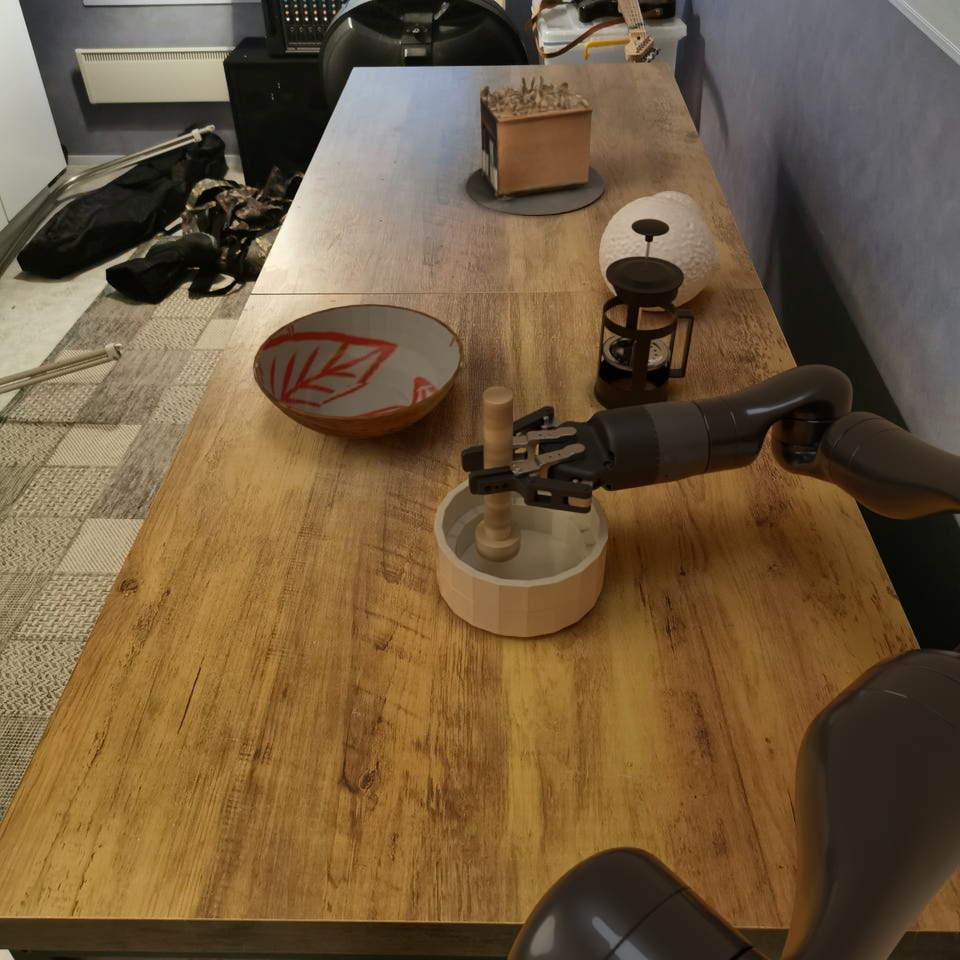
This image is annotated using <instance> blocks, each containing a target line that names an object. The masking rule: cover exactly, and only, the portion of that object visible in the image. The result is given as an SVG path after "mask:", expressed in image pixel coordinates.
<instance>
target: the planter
mask: <svg viewBox="0 0 960 960" xmlns="http://www.w3.org/2000/svg"><path fill="white" fill-rule="evenodd" d="M543 76H544V75H541V74H540V75H539V81H540V82H539V84H536V85H535V83H536V82H535V81H536V76H535V75H534V76H533V77H532V80H531V81H530V88H529V89H528V87H527V82H526V79H525V77H522V79H521V80H522V85H521V84H520V85H519V88H518V90H515V89H514V88H513V86H512V85H508V86H507V89H505V87H504V86H503V85H502V84H501V85H500V87H499V89H498V91H497V90H495V91H494V92H492V93H491V90H490V86H489V85H488V84H487V85H484V86H482V87H481V88H480V91H479V95H480V97H479V103H480V108H479V109H480V110H479V111H480V131H481V132H480V137H481V152H480V153H481V156H480V157H481V167H480V168H479V169H477V170H476V171H474V172H473V173H472V174H471V175H470V176H469V177H468V179H467V181H466V183H465V190H466V193H467V194H468V196H469V198H471V199H472V200H473V201H475V202H476V203H477V204H479V205H481V206H483V207H484V208H488V209H490V210H492V211H497V212H500V213H506V214H511V215H512V214H513V215H525V216H541V215H553V214H560V213H566V212H571V211H574V210H578V209H581V208H583V207H586V206H587V205H589V204H591V203H592V202H594V201H596V200H597V199H599V197H600V196H601V195H602V193H603V192H604V189H605V180H604V178H603V176H602V175H601V174H600V173H599V171H597V170H596V169H595V168H593V167H592V166H590V159H591V158H590V157H591V135H592V134H591V133H592V132H591V131H592V117H593V111H594V108H593V107H592V106H591V105H590V103H588V100H587V99H586V98H585V97H584V96H583V95H582V94H581V92H579V91H577V89H576V87H574V86H573V85H572V84H569V83H568V82H567V81H563V82H561V83H560V84H554V85H553V83H549V85H548V84H547V83H545V78H544V77H543ZM544 83H545V84H544ZM534 85H535V86H534Z"/></svg>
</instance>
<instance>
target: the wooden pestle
mask: <svg viewBox="0 0 960 960" xmlns="http://www.w3.org/2000/svg"><path fill="white" fill-rule="evenodd" d="M513 422H514V392H513V391H512V389H509V388H508V387H506V386H499V385H498V386H497V385H496V386H492V387H489V388H487V389H485V390H484V391H483V393H482V425H483V426H482V430H483V431H482V433H483V434H482V435H483V436H482V439H483V444H482V445H484V469H490V468H496V467H504V466H509V467H510V469H511V470H512V468H513V466H514V465H513ZM475 546H476V551H477V553H478V554H479V555H480V556H481V557H482V558H483V559H485V560H487V561H491V562H506V561H509V560H511V559H513V558H514V557H516V556H517V554H518V553H519V551H520V548H521V529H520V527H519V525H518V524H517V523H516V522H515V521H513V520H512V491H508V492H502V493H494V494H489V495H484V520H483V521H481V522H480V523H479V524H478V525H477V527H476V530H475Z"/></svg>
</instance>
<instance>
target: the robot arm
mask: <svg viewBox="0 0 960 960" xmlns="http://www.w3.org/2000/svg"><path fill="white" fill-rule="evenodd" d="M852 406H853V385H852V382H851V380H850V378H849V377H848V376H847V374H845V373H844V372H843V371H841V370H840V369H838V368H836V367H835V366H834V367H833V366H831V365H828V364H820V363H813V364H803V365H799V366H794V367H791V368H788V369H786V370H783V371H781V372H778V373H776V374H774V375H771V376H770V377H768V378H766V379H764V380H761V381H760V382H756V383H754V384H752V385H750V386H747V387H744V388H742V389H739V390H738V391H735V392H733V393H732V392H731V393H729V394H726V395H720V396H712V397H706V398H699V399H692V400H683V401H681V400H680V401H678V400H677V401H674V400H673V401H672V400H670V401H667V402H658V403H651V404H644V405H637V406H630V407H623V408H616V409H602V410H597V411H596V412H595V413H593V415H592V416H591V417H590V418H589V419H588V420H587V421H573V420H567V421H562V420H561V419H560V418H558V417H556V416H555V408H554V407H553V406H551V405H544V406H542V407H540V408H538V409H536V410H534V411H532V412H530V413H528V414H526V415H524V416H522V417H520V418H518V419H515V420H513V467H512V470H511V469H510V467H509V466H504V467H496V468H490V469H484V445H483V444H482V445H481V444H479V445H474V446H473V445H472V446H469V447H467V448H465V449H463V450H461V452H460V463H461V468H462V470H463V472H465V473H468V477H467V479H469V489H470V492H471V494H473V495H476V494H478V495H489V494H494V493H502V492H508V491H513V492H514V493H516V494H520V495H521V496H522V497H523V498H524V503H525V504H526V505H528V506H534V507H541V508H548V509H555V510H562V511H568V512H575V513H582V514H587V513H589V512H590V511H591V502H592V495H593V491H596V490H598V489H600V488H602V489H603V490H605V491H607V492H617V491H622V490H623V491H624V490H629V489H635V488H641V487H648V486H655V485H661V484H668V483H673V482H679V481H682V480H685V479H689V478H691V477H695V476H701V475H707V474H714V473H720V472H721V473H722V472H726V471H731V470H739V469H743V468H746V467H748V466H750V465H752V464H753V463H754V462H755V461H756V460H757V459H758V458H759V455H760V453H761V450H762V448H763V446H764V443H765V440H766V437H767V435H768V433H769V431H770V429H771V432H770V433H771V434H770V450H771V454H772V456H773V458H774V460H775V463H776V464H777V465H778V466H779V467H780V468H781V469H782V470H783V471H785V472H787V473H790V474H792V475H798V476H802V477H807V478H812V479H815V480H819V481H822V482H825V483H829V484H832V485H834V486H836V487H837V488H839V489H840V490H842V491H843V492H844V493H846V494H847V495H848V496H850V497H851V498H852V499H854V500H855V501H857V502H858V503H859V504H861V505H863V507H865V508H867V509H869V510H870V511H872V512H874V513H876V514H878V515H881V516H883V517H885V518H890V519H893V520H901V521H920V520H929V519H935V518H939V517H944V516H952V515H960V455H958V454H955V453H953V452H949V451H947V450H944V449H943V448H940V447H937V446H935V445H934V444H931V443H929V442H928V441H925V440H923V439H921V438H920V437H919V436H916V435H915V434H912V433H911V432H909V431H908V430H905V429H904V428H902V427H900V426H898V425H897V424H895V423H893V422H891V421H889V420H887V419H886V418H884V417H882V416H880V415H878V414H875V413H872V412H870V411H865V410H864V411H863V410H857V411H852ZM518 434H519V435H518ZM537 446H538V448H536V447H537ZM520 449H525V451H523V452H516V451H518V450H520ZM536 449H538V452H537V454H536ZM531 474H535V475H534V476H529V475H531ZM538 490H539V491H540V492H545V491H547V492H550V493H551V496H548V495H541V494H538ZM800 742H801V743H800V746H799V749H798V753H797V759H796V763H795V776H794V822H795V823H794V824H795V840H796V841H795V842H796V844H795V845H796V884H795V894H794V900H793V907H792V912H791V913H792V914H791V920H790V924H789V928H788V932H787V936H786V940H785V943H784V946H783V950H782V953H781V955H780V958H779V959H778V960H888V958H889V957H890V956H891V954H892V953H893V951H894V950H895V948H896V946H897V945H899V942H900V941H901V940H902V938H903V937H904V936H905V934H906V933H907V931H908V930H909V929H910V928H911V926H912V925H913V924H914V922H915V921H916V920H917V919H918V917H919V916H920V915H921V914H922V912H923V911H924V910H925V909H926V908H927V906H928V905H929V904H930V902H931V901H932V900H933V899H934V897H936V895H937V894H938V893H939V892H940V891H941V890H942V888H943V887H944V886H945V885H946V883H947V882H948V881H949V880H950V879H951V878H952V876H953V875H955V873H956V872H957V871H958V869H959V868H960V643H959V644H958V645H957V646H956V647H955V648H954V649H953V651H952V650H946V649H940V648H939V649H938V648H914V649H908V650H903V651H899V652H896V653H893V654H891V655H888V656H886V657H885V658H883V659H881V660H878V661H877V662H876V663H874V664H873V665H871V666H870V667H868V668H867V669H866V670H864V671H863V672H862V673H861V674H860V675H859V676H857V678H855V679H854V680H852V682H851V683H849V685H847V686H846V687H845V688H844V689H843V690H842V691H841V692H839V694H837V695H836V696H835V697H834V698H833V699H831V701H830V702H828V703H827V704H826V706H824V707H823V708H822V709H821V710H820V711H819V712H818V713H817V714H816V715H815V717H813V719H812V720H811V721H810V723H809V725H808V726H807V728H806V730H805V732H804V734H803V736H802V740H801V741H800ZM506 960H772V959H771V958H769V957H767V956H766V955H765V953H763V952H762V951H760V950H759V948H757V947H754V944H753V943H752V942H751V941H750V940H749V939H748V938H746V937H745V936H744V935H743V934H742V933H741V932H740V931H739V930H738V929H737V928H736V927H734V925H732V924H731V923H730V922H729V921H728V920H727V919H726V918H724V916H723V915H722V914H721V913H719V912H718V911H717V910H716V908H714V907H713V906H712V905H710V904H709V903H708V902H707V901H706V900H705V899H704V898H703V897H702V896H701V895H700V894H698V893H697V891H695V890H694V889H693V888H692V887H691V886H690V885H688V884H687V883H686V882H685V881H684V880H683V879H681V878H680V877H679V875H677V874H676V873H675V872H674V871H673V870H672V869H671V868H670V867H669V866H667V864H666V863H664V862H663V861H662V860H661V859H660V858H659V857H657V856H656V855H655V854H653V853H652V852H649V851H647V850H645V849H643V848H640V847H635V846H625V845H624V846H615V847H610V848H606V849H603V850H601V851H598V852H596V853H593V854H592V855H590V856H588V857H586V858H584V859H582V860H581V861H579V862H578V863H576V864H575V865H574V866H572V867H571V868H569V869H568V870H567V871H566V872H565V873H564V874H562V875H561V876H560V877H559V878H558V879H557V880H556V881H555V882H554V883H553V884H552V885H551V886H550V887H549V888H548V890H547V891H546V892H545V893H544V894H543V895H542V897H541V898H540V899H539V901H538V902H537V903H536V904H535V906H534V907H533V909H532V910H531V912H530V913H529V915H528V916H527V918H526V919H525V921H524V923H523V924H522V926H521V928H520V930H519V932H518V934H517V936H516V938H515V939H514V942H513V944H512V946H511V948H510V950H509V953H508V956H507V958H506Z"/></svg>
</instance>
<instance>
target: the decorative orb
mask: <svg viewBox="0 0 960 960" xmlns="http://www.w3.org/2000/svg"><path fill="white" fill-rule="evenodd" d="M641 219H656V220H660V221H663V222H665V223H666V224H667V225H668V226H669V231H668V232H667V233H666V234H664V235H660V236H654V237H653V241H652V242H650V249H649V257H655V258H659V259H663V260H666V261H669V262H671V263H673V264H675V265H676V266H678V267H679V268H680V269H681V270H682V272H683V274H684V281H683V284H682V285H681V286H680V287H679V288H678V294H677V297H676V299H675V300H674V301H672V302H671V303H673V304H674V305H675V306H676V308H678V307H681V305H683V304H686V303H687V302H689V301H691V300H692V299H694V298H696V297H697V295H698V294H700V292H701V291H702V290H704V288H705V287H709V286H710V285H711V284H713V280H714V277H715V275H716V273H717V272H718V271H719V267H720V265H721V256H720V251H719V247H718V245H717V243H716V241H715V238H714V235H713V234H712V230H711V229H710V227H709V225H708V224H707V223H706V221H705V215H704V213H703V210H702V208H701V206H700V205H699V204H698V202H697V201H696V200H695V199H693V197H692V196H689V195H688V194H686V193H683V192H678V191H676V190H667V191H666V190H665V191H660V192H657V193H656V194H654V195H650V196H642V197H639V198H636V199H634V200H632V201H630V202H628V203H626V205H624V206H622V207H621V208H620V209H618V211H617V212H616V213H615V214H613V215H612V217H611V219H610V220H609V221H608V224H607V225H606V226H605V229H604V232H603V234H602V236H601V240H600V241H599V243H600V245H599V251H598V257H599V259H598V262H599V268H600V270H599V272H600V273H601V276H602V279H603V280H604V283H605V284H606V286H607V287H608V289H609V291H610V293H612V294H613V295H614V296H617V294H616V292H615V290H614V288H613V285H611V284H610V283H609V281H608V280H607V278H606V270H607V268H608V266H609V265H610V264H612V263H613V262H615V261H617V260H619V259H623V258H627V257H635V256H645V255H646V247H647V242H646V241H645V236H644V235H641V234H638V233H636V232H634V231H633V230H632V228H631V226H632V224H633V223H634V222H635V221H638V220H641ZM642 311H646V312H647V311H648V312H665V311H666V310H665V309H663V308H661V307H654V308H642Z"/></svg>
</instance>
